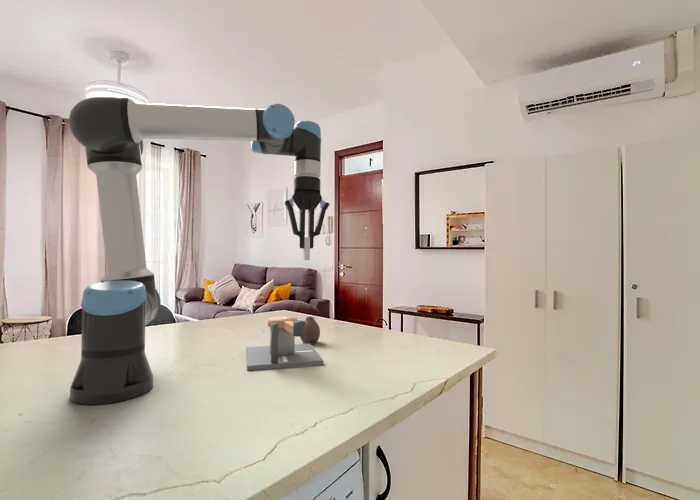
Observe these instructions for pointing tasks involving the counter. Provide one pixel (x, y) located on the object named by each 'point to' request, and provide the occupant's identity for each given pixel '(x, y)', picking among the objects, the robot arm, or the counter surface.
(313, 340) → the vase
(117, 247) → the robot arm
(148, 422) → the counter surface
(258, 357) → the post base
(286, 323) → the wooden cross piece
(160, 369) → the counter surface
